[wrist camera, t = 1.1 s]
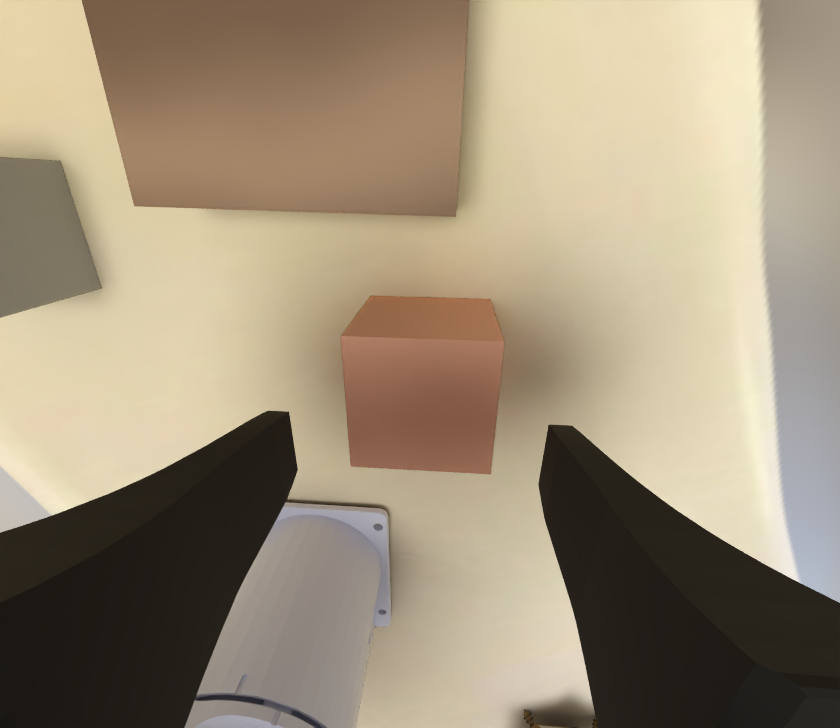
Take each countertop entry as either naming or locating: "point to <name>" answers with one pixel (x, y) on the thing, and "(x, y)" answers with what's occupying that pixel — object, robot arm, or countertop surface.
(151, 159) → the walnut block
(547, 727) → the game die
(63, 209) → the grey cube
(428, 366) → the salmon pink cube
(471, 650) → the countertop surface
